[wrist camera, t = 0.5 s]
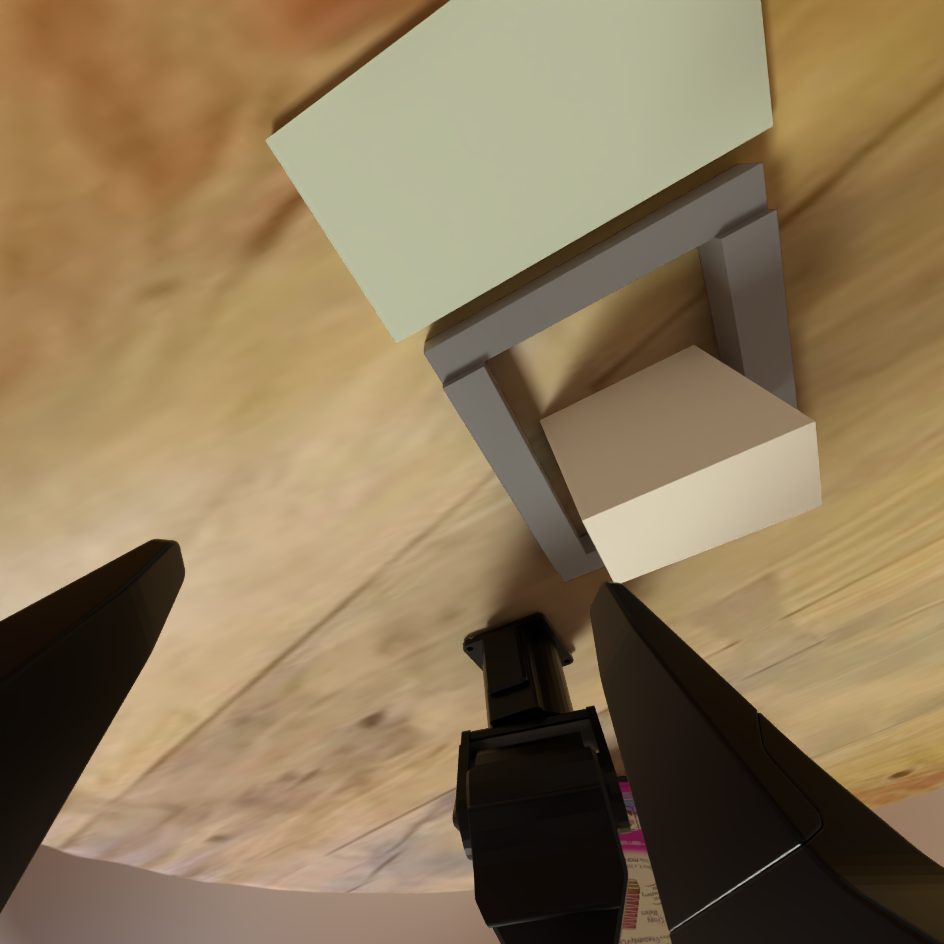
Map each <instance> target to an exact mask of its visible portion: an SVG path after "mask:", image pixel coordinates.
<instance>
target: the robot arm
mask: <svg viewBox="0 0 944 944" xmlns="http://www.w3.org/2000/svg"><path fill="white" fill-rule="evenodd" d="M184 577H185V567H184V563H183V558H182V554H181V549H180V546H179V544H178V542H176V541H174V540H164V539H153V540H150V541H148V542H146V543H144V544H143V545H141V546H139V547H137V548H135V549H133V550H131V551H130V552H128V553H126V554H124V555H122V556H120V557H119V558H117V559H115V560H113V561H111V562H109V563H107V564H106V565H104V566H102V567H100V568H98V569H96V570H94V571H93V572H91V573H89V574H87V575H85V576H83V577H81V578H80V579H78V580H76V581H74V582H72V583H70V584H68V585H67V586H65V587H63V588H61V589H59V590H57V591H56V592H54V593H52V594H50V595H48V596H46V597H44V598H43V599H41V600H39V601H37V602H35V603H33V604H31V605H30V606H28V607H26V608H24V609H22V610H20V611H18V612H17V613H15V614H13V615H11V616H9V617H7V618H6V619H4V620H2V621H0V913H1V912H2V910H3V908H4V906H5V904H6V903H7V901H8V900H9V898H10V896H11V894H12V892H13V891H14V889H15V888H16V886H17V884H18V882H19V881H20V879H21V877H22V875H23V873H24V872H25V870H26V869H27V867H28V865H29V863H30V862H31V860H32V858H33V857H34V855H35V853H36V851H37V850H38V848H39V846H40V845H41V843H42V841H43V839H44V838H45V836H46V834H47V832H48V831H49V829H50V827H51V826H52V824H53V822H54V820H55V819H56V817H57V815H58V814H59V812H60V810H61V808H62V807H63V805H64V803H65V802H66V800H67V798H68V796H69V795H70V793H71V791H72V789H73V788H74V786H75V784H76V783H77V781H78V779H79V777H80V776H81V774H82V772H83V771H84V769H85V767H86V765H87V764H88V762H89V760H90V758H91V757H92V755H93V753H94V752H95V750H96V748H97V746H98V745H99V743H100V741H101V740H102V738H103V736H104V734H105V733H106V731H107V729H108V727H109V726H110V724H111V722H112V721H113V719H114V717H115V715H116V714H117V712H118V710H119V709H120V707H121V705H122V703H123V702H124V700H125V698H126V696H127V695H128V693H129V691H130V690H131V688H132V686H133V684H134V683H135V681H136V679H137V678H138V676H139V674H140V672H141V671H142V669H143V667H144V665H145V664H146V662H147V660H148V658H149V656H150V655H151V653H152V651H153V648H154V646H155V644H156V642H157V640H158V638H159V635H160V633H161V631H162V629H163V626H164V624H165V622H166V620H167V617H168V615H169V613H170V611H171V608H172V606H173V604H174V602H175V599H176V597H177V595H178V592H179V590H180V588H181V586H182V583H183V581H184ZM590 616H591V623H592V629H593V635H594V641H595V648H596V654H597V660H598V666H599V672H600V677H601V682H602V686H603V690H604V694H605V697H606V701H607V705H608V709H609V712H610V716H611V720H612V723H613V727H614V731H615V734H616V738H617V742H618V746H619V749H620V753H621V757H622V760H623V764H624V768H625V772H626V775H627V779H628V783H629V786H630V790H631V794H632V797H633V801H634V805H635V809H636V812H637V816H638V820H639V823H640V827H641V831H642V835H643V838H644V842H645V846H646V849H647V853H648V857H649V860H650V864H651V868H652V872H653V875H654V879H655V883H656V886H657V890H658V894H659V897H660V901H661V905H662V909H663V912H664V916H665V920H666V923H667V927H668V930H669V931H670V934H669V935H670V939H671V943H672V944H944V867H942V866H940V865H939V864H937V863H936V862H934V861H933V860H932V859H930V858H929V857H928V856H926V855H925V854H923V853H922V852H921V851H920V850H918V849H917V848H916V847H915V846H913V845H912V844H911V843H909V842H908V841H907V840H906V839H905V838H904V837H903V836H901V835H900V834H899V833H898V832H897V831H895V830H894V829H893V828H892V827H890V826H889V825H888V824H887V823H886V822H885V821H883V820H882V819H881V818H880V817H879V816H878V815H876V814H875V813H874V812H873V811H872V810H870V809H869V808H868V807H867V806H866V805H864V804H863V803H862V802H861V801H860V800H859V799H857V798H856V797H855V796H854V795H853V794H851V793H850V792H849V791H848V790H847V789H845V788H844V787H843V786H842V785H841V784H839V783H838V782H837V781H836V780H835V779H834V778H832V777H831V776H830V775H829V774H828V773H827V772H825V771H824V770H823V769H822V768H821V767H820V766H818V765H817V764H816V763H815V762H814V761H813V760H812V759H810V758H809V757H808V756H807V755H806V754H805V753H803V752H802V751H801V750H800V749H799V748H798V747H797V746H796V745H795V744H794V743H792V742H791V741H790V740H789V739H788V738H787V737H786V736H785V735H784V734H783V733H781V732H780V731H779V730H778V729H777V728H776V727H775V726H774V725H773V724H772V723H771V722H770V721H769V720H767V719H766V718H765V717H764V716H763V715H762V714H761V713H757V710H756V708H755V707H753V706H752V705H751V704H750V703H749V702H748V701H747V700H746V699H745V698H744V697H743V696H742V695H741V694H740V693H739V692H737V691H736V690H735V689H734V688H733V687H732V686H731V685H730V684H729V683H728V682H727V681H726V680H725V679H724V678H723V677H721V676H720V675H719V674H718V673H717V672H716V671H715V670H714V669H713V668H712V667H711V666H710V665H709V664H708V663H707V662H705V661H704V660H703V659H702V658H701V657H700V656H699V655H698V654H697V653H696V652H695V651H694V650H693V649H692V648H691V647H689V646H688V645H687V644H686V643H685V642H684V641H683V640H682V639H681V638H680V637H679V636H678V635H677V634H676V633H675V632H673V631H672V630H671V629H670V628H669V627H668V626H667V625H666V624H665V623H664V622H663V621H662V620H661V619H660V618H659V617H657V616H656V615H655V614H654V613H653V612H652V611H651V610H650V609H649V608H648V607H647V606H646V605H645V604H644V603H643V602H641V601H640V600H639V599H638V598H637V597H636V596H635V595H634V594H633V593H632V592H631V591H630V590H629V589H628V588H627V587H625V586H624V585H623V584H621V583H618V582H604V583H602V584H601V586H600V588H599V590H598V592H597V594H596V596H595V598H594V600H593V602H592V605H591V609H590ZM463 650H464V652H465V653H466V654H467V655H468V656H469V657H470V658H471V659H472V660H473V661H474V662H475V663H476V664H477V665H478V666H479V667H480V668H481V669H482V671H483V676H484V687H485V698H486V709H487V720H488V728H486V729H481V730H476V731H470V730H468V731H463V732H462V736H461V745H459V758H458V774H457V790H456V800H455V805H454V811H453V824H454V826H455V827H456V828H457V829H458V830H459V831H460V834H461V838H462V842H463V846H464V850H465V853H466V856H467V857H468V859H469V860H473V869H474V885H475V900H476V903H477V905H478V907H479V909H480V912H481V914H482V916H483V918H484V920H485V923H486V924H487V926H488V927H489V928H493V930H494V932H495V933H496V935H497V937H498V939H499V941H500V943H501V944H620V942H621V935H622V928H623V921H624V914H625V907H626V900H627V893H628V883H629V881H628V869H627V864H626V861H625V857H624V853H623V849H622V846H621V842H620V838H619V835H620V834H621V835H622V834H628V833H631V827H630V822H629V818H628V814H627V811H626V807H625V803H624V799H623V796H622V792H621V789H620V785H619V782H618V778H617V775H616V772H615V769H614V765H613V762H612V759H611V756H610V753H609V750H608V747H607V744H606V740H605V737H604V734H603V731H602V728H601V725H600V722H599V719H598V715H597V712H596V709H595V706H589V707H586V709H582V710H577V711H573V707H572V703H571V700H570V696H569V692H568V688H567V684H566V680H565V676H564V672H563V668H562V667H563V666H566V665H569V664H571V663H572V662H573V657H572V654H571V653H570V651H569V650H568V648H567V647H566V645H565V644H564V643H563V641H562V640H561V638H560V637H559V635H558V634H557V633H556V631H555V630H554V628H553V627H552V626H551V624H550V623H549V621H548V620H547V618H546V617H545V616H544V615H543V614H541V613H537V614H534V615H531V616H529V617H526V618H524V619H521V620H518V621H516V622H513V623H511V624H508V625H505V626H503V627H500V628H498V629H495V630H493V631H490V632H487V633H485V634H482V635H480V636H477V637H474V638H472V639H469V640H467V641H465V642H464V643H463Z"/></svg>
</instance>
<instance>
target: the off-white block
mask: <svg viewBox="0 0 944 944" xmlns="http://www.w3.org/2000/svg"><path fill="white" fill-rule="evenodd" d="M540 423H541V425H542V428H543V430H544V432H545V435H546V437H547V439H548V442H549V444H550V446H551V449H552V451H553V453H554V456H555V458H556V461H557V463H558V465H559V468H560V470H561V472H562V475H563V477H564V479H565V482H566V484H567V486H568V489H569V491H570V494H571V496H572V498H573V501H574V503H575V505H576V508H577V510H578V512H579V515H580V517H581V519H582V522H583V524H584V526H585V527H586V529H587V531H588V533H589V535H590V537H591V539H592V541H593V543H594V545H595V547H596V549H597V551H598V553H599V555H600V557H601V559H602V560H603V562H604V564H605V566H606V568H607V570H608V572H609V574H610V576H611V578H612V580H613V582H618V583H623V582H626V581H628V580H631V579H633V578H636V577H639V576H641V575H644V574H646V573H649V572H652V571H654V570H657V569H659V568H662V567H665V566H667V565H670V564H672V563H675V562H677V561H680V560H683V559H685V558H688V557H690V556H693V555H696V554H698V553H701V552H703V551H706V550H709V549H711V548H714V547H716V546H719V545H722V544H724V543H727V542H729V541H732V540H735V539H737V538H740V537H742V536H745V535H748V534H750V533H753V532H755V531H758V530H761V529H763V528H766V527H768V526H771V525H773V524H776V523H779V522H781V521H784V520H786V519H789V518H792V517H794V516H797V515H799V514H802V513H805V512H807V511H810V510H812V509H815V508H818V507H820V506H822V498H821V485H820V473H819V460H818V448H817V436H816V423H815V421H814V420H813V419H811V418H809V417H808V416H806V415H805V414H803V413H802V412H800V411H798V410H797V409H795V408H794V407H792V406H790V405H789V404H787V403H786V402H784V401H783V400H781V399H779V398H778V397H776V396H775V395H773V394H771V393H770V392H768V391H767V390H765V389H763V388H762V387H760V386H759V385H757V384H756V383H754V382H752V381H751V380H749V379H748V378H746V377H744V376H743V375H741V374H740V373H738V372H737V371H735V370H733V369H732V368H730V367H729V366H727V365H725V364H724V363H722V362H721V361H719V360H718V359H716V358H714V357H713V356H711V355H710V354H708V353H706V352H705V351H703V350H702V349H700V348H698V347H697V346H695V345H692V346H690V347H688V348H686V349H684V350H682V351H680V352H678V353H676V354H674V355H672V356H670V357H668V358H666V359H663V360H661V361H659V362H657V363H655V364H653V365H651V366H649V367H647V368H645V369H643V370H641V371H639V372H637V373H635V374H633V375H631V376H629V377H627V378H625V379H623V380H621V381H619V382H617V383H615V384H613V385H611V386H608V387H606V388H604V389H602V390H600V391H598V392H596V393H594V394H592V395H590V396H588V397H586V398H584V399H582V400H580V401H578V402H576V403H574V404H572V405H570V406H568V407H566V408H564V409H562V410H560V411H558V412H556V413H553V414H551V415H549V416H547V417H545V418H543V419H541V420H540Z"/></svg>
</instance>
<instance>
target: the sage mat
mask: <svg viewBox="0 0 944 944" xmlns="http://www.w3.org/2000/svg"><path fill="white" fill-rule="evenodd" d="M772 126H773V119H772V109H771V99H770V89H769V78H768V68H767V58H766V48H765V38H764V28H763V18H762V8H761V0H450V1H449V2H448V3H446V4H445V5H444V6H442V7H441V8H440V9H438V10H437V11H436V12H434V13H433V14H432V15H430V16H429V17H428V18H426V19H425V20H424V21H422V22H421V23H420V24H418V25H417V26H416V27H414V28H413V29H412V30H411V31H409V32H408V33H407V34H405V35H404V36H403V37H401V38H400V39H399V40H397V41H396V42H395V43H393V44H392V45H391V46H389V47H388V48H387V49H385V50H384V51H383V52H381V53H380V54H379V55H377V56H376V57H375V58H373V59H372V60H371V61H370V62H368V63H367V64H366V65H364V66H363V67H362V68H360V69H359V70H358V71H356V72H355V73H354V74H352V75H351V76H350V77H348V78H347V79H346V80H344V81H343V82H342V83H340V84H339V85H338V86H336V87H335V88H334V89H332V90H331V91H330V92H328V93H327V94H326V95H325V96H323V97H322V98H321V99H319V100H318V101H317V102H315V103H314V104H313V105H311V106H310V107H309V108H307V109H306V110H305V111H303V112H302V113H301V114H299V115H298V116H297V117H295V118H294V119H293V120H291V121H290V122H289V123H287V124H286V125H285V126H284V127H282V128H281V129H280V130H278V131H277V132H276V133H274V134H273V135H272V136H270V137H269V138H268V139H266V140H265V141H266V142H267V144H268V145H269V147H270V148H271V150H272V151H273V153H274V155H275V156H276V158H277V159H278V161H279V162H280V164H281V165H282V167H283V168H284V170H285V172H286V173H287V175H288V176H289V178H290V179H291V181H292V182H293V184H294V186H295V187H296V189H297V190H298V192H299V193H300V195H301V196H302V198H303V200H304V201H305V203H306V204H307V206H308V207H309V209H310V210H311V212H312V213H313V215H314V217H315V218H316V220H317V221H318V223H319V224H320V226H321V227H322V229H323V231H324V232H325V234H326V235H327V237H328V238H329V240H330V241H331V243H332V245H333V246H334V248H335V249H336V251H337V252H338V254H339V255H340V257H341V259H342V260H343V262H344V263H345V265H346V266H347V268H348V269H349V271H350V272H351V274H352V276H353V277H354V279H355V280H356V282H357V283H358V285H359V286H360V288H361V290H362V291H363V293H364V294H365V296H366V297H367V299H368V300H369V302H370V304H371V305H372V307H373V308H374V310H375V311H376V313H377V314H378V316H379V317H380V319H381V321H382V322H383V324H384V325H385V327H386V328H387V330H388V331H389V333H390V335H391V336H392V338H393V339H394V341H395V342H396V344H397V343H398V342H400V341H402V340H403V339H405V338H407V337H409V336H410V335H412V334H414V333H416V332H417V331H419V330H421V329H423V328H424V327H426V326H428V325H429V324H431V323H433V322H435V321H436V320H438V319H440V318H442V317H443V316H445V315H447V314H448V313H450V312H452V311H454V310H455V309H457V308H459V307H461V306H462V305H464V304H466V303H468V302H469V301H471V300H473V299H474V298H476V297H478V296H480V295H481V294H483V293H485V292H487V291H488V290H490V289H492V288H494V287H495V286H497V285H499V284H500V283H502V282H504V281H506V280H507V279H509V278H511V277H513V276H514V275H516V274H518V273H519V272H521V271H523V270H525V269H526V268H528V267H530V266H532V265H533V264H535V263H537V262H539V261H540V260H542V259H544V258H545V257H547V256H549V255H551V254H552V253H554V252H556V251H558V250H559V249H561V248H563V247H564V246H566V245H568V244H570V243H571V242H573V241H575V240H577V239H578V238H580V237H582V236H584V235H585V234H587V233H589V232H590V231H592V230H594V229H596V228H597V227H599V226H601V225H603V224H604V223H606V222H608V221H610V220H611V219H613V218H615V217H616V216H618V215H620V214H622V213H623V212H625V211H627V210H629V209H630V208H632V207H634V206H635V205H637V204H639V203H641V202H642V201H644V200H646V199H648V198H649V197H651V196H653V195H655V194H656V193H658V192H660V191H661V190H663V189H665V188H667V187H668V186H670V185H672V184H674V183H675V182H677V181H679V180H680V179H682V178H684V177H686V176H687V175H689V174H691V173H693V172H694V171H696V170H698V169H700V168H701V167H703V166H705V165H706V164H708V163H710V162H712V161H713V160H715V159H717V158H719V157H720V156H722V155H724V154H726V153H727V152H729V151H731V150H732V149H734V148H736V147H738V146H739V145H741V144H743V143H745V142H746V141H748V140H750V139H751V138H753V137H755V136H757V135H758V134H760V133H762V132H764V131H765V130H767V129H769V128H771V127H772Z"/></svg>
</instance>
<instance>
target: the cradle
mask: <svg viewBox="0 0 944 944" xmlns="http://www.w3.org/2000/svg"><path fill="white" fill-rule="evenodd" d="M696 247H698V251H699V256H700V261H701V266H702V271H703V275H704V280H705V285H706V290H707V295H708V300H709V305H710V310H711V315H712V319H713V324H714V329H715V334H716V339H717V344H718V349H719V354H720V359H721V362H722V363H724V364H725V365H727V366H729V367H730V368H732V369H733V370H735V371H737V372H738V373H740V374H741V375H743V376H744V377H746V378H748V379H749V380H751V381H752V382H754V383H756V384H757V385H759V386H760V387H762V388H763V389H765V390H767V391H768V392H770V393H771V394H773V395H775V396H776V397H778V398H779V399H781V400H783V401H784V402H786V403H787V404H789V405H790V406H792V407H794V408H795V409H797V400H796V390H795V381H794V371H793V362H792V352H791V342H790V333H789V323H788V314H787V304H786V295H785V285H784V275H783V266H782V256H781V247H780V237H779V228H778V218H777V210H775V209H768V205H767V196H766V188H765V179H764V170H763V162H760V163H744V164H737V165H735V166H734V167H732V168H730V169H728V170H727V171H725V172H723V173H721V174H720V175H718V176H716V177H714V178H713V179H711V180H709V181H707V182H706V183H704V184H702V185H700V186H698V187H697V188H695V189H693V190H691V191H690V192H688V193H686V194H684V195H683V196H681V197H679V198H677V199H676V200H674V201H672V202H670V203H669V204H667V205H665V206H663V207H662V208H660V209H658V210H656V211H655V212H653V213H651V214H649V215H648V216H646V217H644V218H642V219H640V220H639V221H637V222H635V223H633V224H632V225H630V226H628V227H626V228H625V229H623V230H621V231H619V232H618V233H616V234H614V235H612V236H611V237H609V238H607V239H605V240H604V241H602V242H600V243H598V244H597V245H595V246H593V247H591V248H589V249H588V250H586V251H584V252H582V253H581V254H579V255H577V256H575V257H574V258H572V259H570V260H568V261H567V262H565V263H563V264H561V265H560V266H558V267H556V268H554V269H553V270H551V271H549V272H547V273H546V274H544V275H542V276H540V277H539V278H537V279H535V280H533V281H531V282H530V283H528V284H526V285H524V286H523V287H521V288H519V289H517V290H516V291H514V292H512V293H510V294H509V295H507V296H505V297H503V298H502V299H500V300H498V301H496V302H495V303H493V304H491V305H489V306H488V307H486V308H484V309H482V310H481V311H479V312H477V313H475V314H473V315H472V316H470V317H468V318H466V319H465V320H463V321H461V322H459V323H458V324H456V325H454V326H452V327H451V328H449V329H447V330H445V331H444V332H442V333H440V334H438V335H437V336H435V337H433V338H431V339H430V340H428V341H426V342H425V345H424V354H425V356H426V357H427V359H428V361H429V362H430V364H431V366H432V367H433V369H434V371H435V372H436V374H437V375H438V377H439V379H440V380H441V382H442V384H443V389H444V391H445V393H446V394H447V396H448V398H449V399H450V401H451V402H452V404H453V406H454V407H455V409H456V410H457V412H458V414H459V415H460V417H461V419H462V420H463V422H464V423H465V425H466V427H467V428H468V430H469V431H470V433H471V435H472V436H473V438H474V440H475V441H476V443H477V444H478V446H479V448H480V449H481V451H482V453H483V454H484V456H485V457H486V459H487V461H488V462H489V464H490V465H491V467H492V469H493V470H494V472H495V474H496V475H497V477H498V478H499V480H500V482H501V483H502V485H503V486H504V488H505V490H506V491H507V493H508V495H509V496H510V498H511V499H512V501H513V503H514V504H515V506H516V507H517V509H518V511H519V512H520V514H521V516H522V517H523V519H524V520H525V522H526V524H527V525H528V527H529V528H530V530H531V532H532V533H533V535H534V537H535V538H536V540H537V541H538V543H539V545H540V546H541V548H542V550H543V551H544V553H545V554H546V556H547V558H548V559H549V561H550V562H551V564H552V566H553V567H554V569H555V571H556V572H557V573H559V574H560V576H561V577H562V579H563V580H564V582H567V581H570V580H572V579H575V578H577V577H580V576H582V575H585V574H587V573H590V572H592V571H595V570H597V569H600V568H602V567H605V564H604V562H603V560H602V559H601V557H600V555H599V553H598V551H597V549H596V547H595V545H594V543H593V541H592V539H591V537H590V535H589V533H588V534H586V535H583V536H581V537H579V535H578V533H577V531H576V530H575V528H574V526H573V524H572V522H571V520H570V518H569V516H568V515H567V513H566V511H565V509H564V507H563V505H562V503H561V501H560V500H559V498H558V496H557V494H556V492H555V490H554V488H553V487H552V485H551V483H550V481H549V479H548V477H547V475H546V473H545V472H544V470H543V468H542V466H541V464H540V462H539V460H538V458H537V457H536V455H535V453H534V451H533V449H532V447H531V445H530V444H529V442H528V440H527V438H526V436H525V434H524V432H523V430H522V429H521V427H520V425H519V423H518V421H517V419H516V417H515V416H514V414H513V412H512V410H511V408H510V406H509V404H508V402H507V401H506V399H505V397H504V395H503V393H502V391H501V389H500V387H499V386H498V384H497V382H496V380H495V378H494V376H493V374H492V373H491V371H490V369H489V367H488V365H487V363H486V361H487V360H488V359H490V358H492V357H494V356H496V355H498V354H500V353H501V352H503V351H505V350H507V349H509V348H511V347H513V346H514V345H516V344H518V343H520V342H522V341H524V340H526V339H527V338H529V337H531V336H533V335H535V334H537V333H539V332H540V331H542V330H544V329H546V328H548V327H550V326H552V325H553V324H555V323H557V322H559V321H561V320H563V319H565V318H566V317H568V316H570V315H572V314H574V313H576V312H578V311H579V310H581V309H583V308H585V307H587V306H589V305H591V304H592V303H594V302H596V301H598V300H600V299H602V298H604V297H605V296H607V295H609V294H611V293H613V292H615V291H617V290H618V289H620V288H622V287H624V286H626V285H628V284H630V283H631V282H633V281H635V280H637V279H639V278H641V277H643V276H644V275H646V274H648V273H650V272H652V271H654V270H655V269H657V268H659V267H661V266H663V265H665V264H667V263H668V262H670V261H672V260H674V259H676V258H678V257H680V256H681V255H683V254H685V253H687V252H689V251H691V250H693V249H694V248H696ZM797 410H798V409H797Z"/></svg>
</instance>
